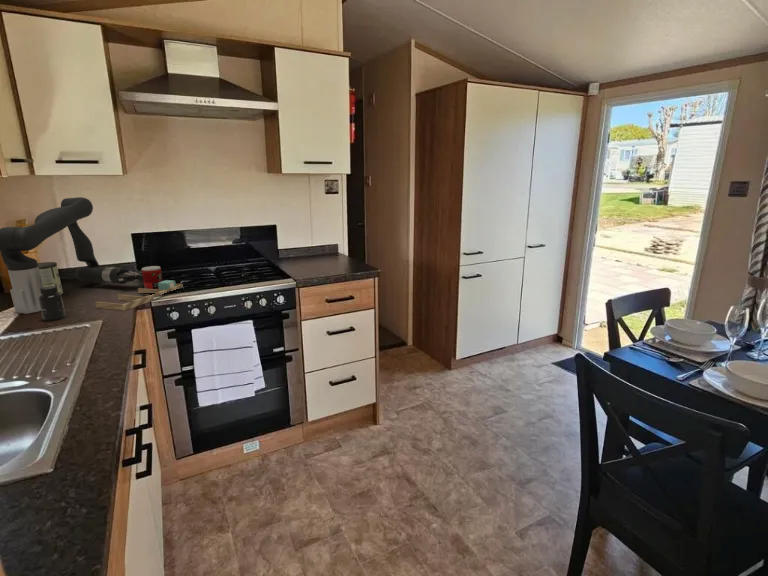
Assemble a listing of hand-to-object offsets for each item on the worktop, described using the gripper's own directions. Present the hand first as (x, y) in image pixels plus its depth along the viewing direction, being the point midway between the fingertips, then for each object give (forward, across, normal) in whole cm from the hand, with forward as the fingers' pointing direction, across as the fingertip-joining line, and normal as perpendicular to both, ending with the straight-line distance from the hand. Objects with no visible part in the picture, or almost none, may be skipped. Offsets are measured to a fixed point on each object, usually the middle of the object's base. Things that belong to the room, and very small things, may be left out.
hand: (145, 277), depth 193 cm
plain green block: (+12, 0, +6) cm, 13 cm away
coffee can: (-37, -18, +6) cm, 42 cm away
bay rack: (+8, -11, +6) cm, 14 cm away
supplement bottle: (-3, -41, +6) cm, 41 cm away
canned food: (+4, 0, +6) cm, 8 cm away
